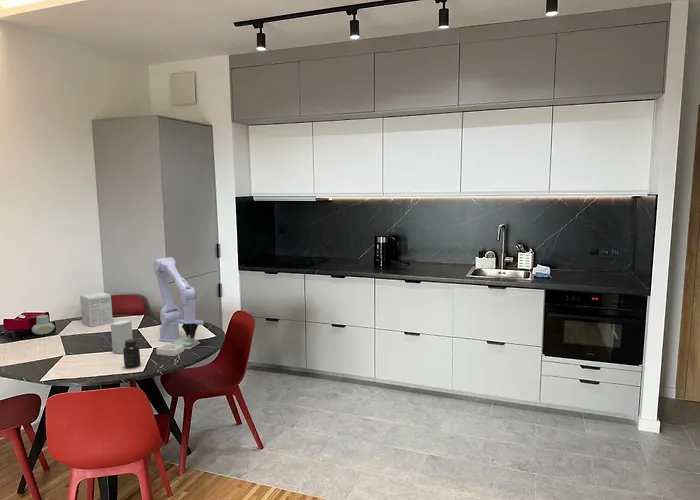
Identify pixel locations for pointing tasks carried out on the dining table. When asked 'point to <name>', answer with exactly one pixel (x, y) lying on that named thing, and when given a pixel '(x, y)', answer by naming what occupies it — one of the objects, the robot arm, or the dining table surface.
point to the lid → (186, 341)
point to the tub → (170, 349)
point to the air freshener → (43, 325)
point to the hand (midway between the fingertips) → (190, 337)
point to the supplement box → (96, 309)
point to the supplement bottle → (131, 354)
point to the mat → (191, 345)
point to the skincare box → (120, 335)
